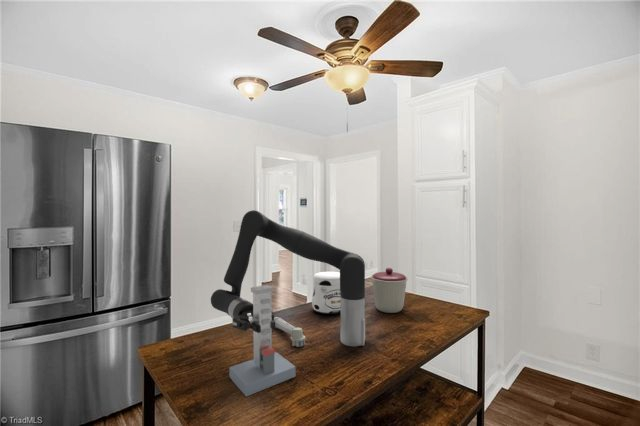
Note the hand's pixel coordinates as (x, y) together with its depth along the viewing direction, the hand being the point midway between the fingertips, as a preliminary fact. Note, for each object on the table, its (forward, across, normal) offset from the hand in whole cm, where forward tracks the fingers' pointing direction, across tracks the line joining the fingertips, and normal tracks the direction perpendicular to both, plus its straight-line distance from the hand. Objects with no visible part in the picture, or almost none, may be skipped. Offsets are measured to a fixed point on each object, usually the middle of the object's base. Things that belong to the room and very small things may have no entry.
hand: (266, 327), depth 89 cm
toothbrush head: (-24, +22, +16) cm, 36 cm away
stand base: (-3, 0, +16) cm, 16 cm away
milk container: (-36, +53, +16) cm, 66 cm away
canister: (-19, +78, +16) cm, 82 cm away
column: (-3, 0, +12) cm, 12 cm away
